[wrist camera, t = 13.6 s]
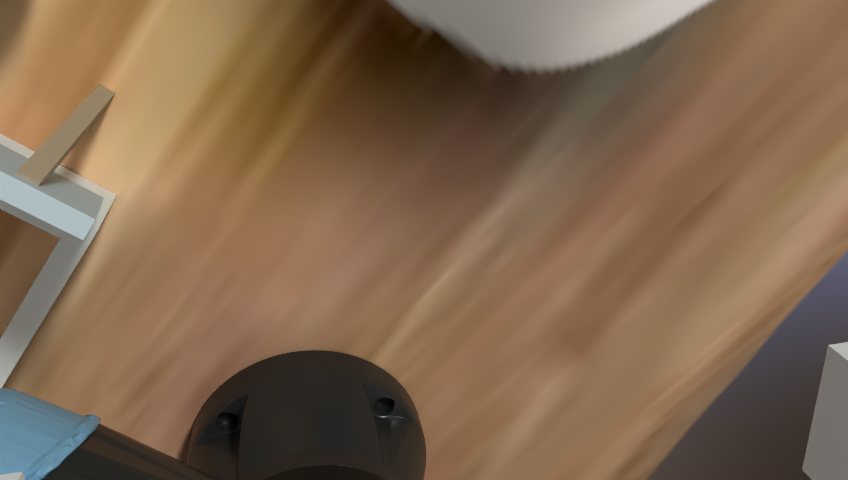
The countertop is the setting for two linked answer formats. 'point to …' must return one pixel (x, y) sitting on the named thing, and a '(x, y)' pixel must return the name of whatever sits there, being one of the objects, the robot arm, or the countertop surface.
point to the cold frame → (50, 215)
